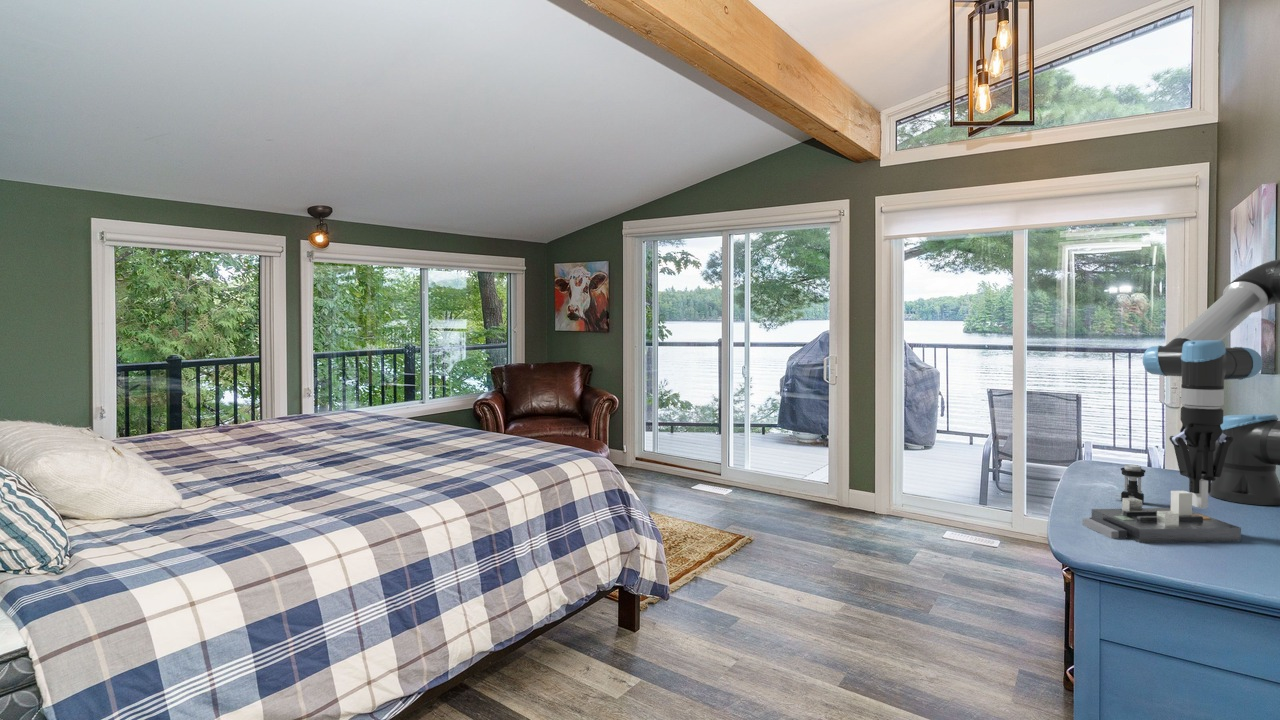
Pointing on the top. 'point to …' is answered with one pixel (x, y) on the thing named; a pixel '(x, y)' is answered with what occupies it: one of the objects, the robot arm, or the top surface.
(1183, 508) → the lever
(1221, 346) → the robot arm
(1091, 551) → the top surface
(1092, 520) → the narrow gray bar
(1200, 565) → the top surface
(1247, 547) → the top surface
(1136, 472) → the push button
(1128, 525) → the panel
